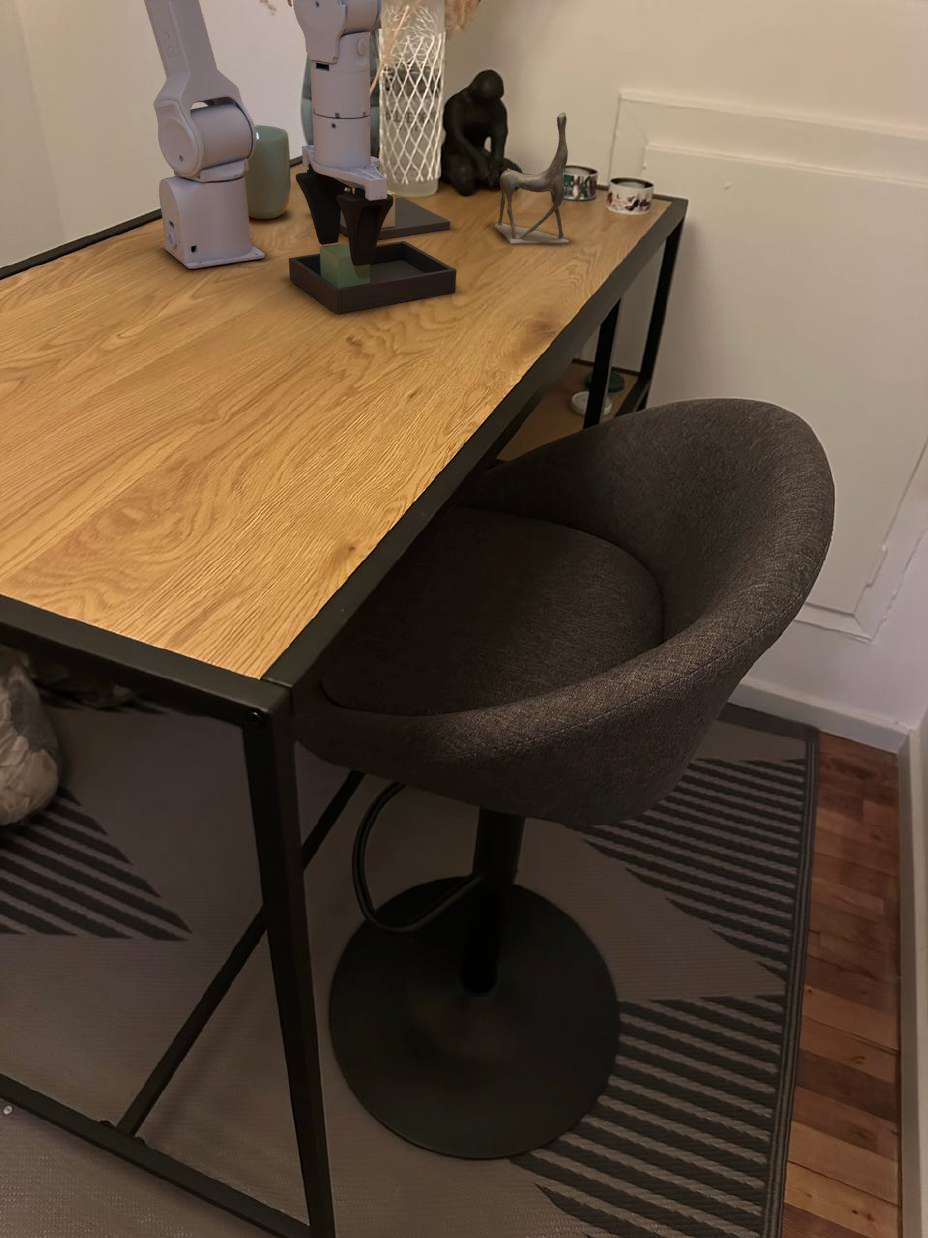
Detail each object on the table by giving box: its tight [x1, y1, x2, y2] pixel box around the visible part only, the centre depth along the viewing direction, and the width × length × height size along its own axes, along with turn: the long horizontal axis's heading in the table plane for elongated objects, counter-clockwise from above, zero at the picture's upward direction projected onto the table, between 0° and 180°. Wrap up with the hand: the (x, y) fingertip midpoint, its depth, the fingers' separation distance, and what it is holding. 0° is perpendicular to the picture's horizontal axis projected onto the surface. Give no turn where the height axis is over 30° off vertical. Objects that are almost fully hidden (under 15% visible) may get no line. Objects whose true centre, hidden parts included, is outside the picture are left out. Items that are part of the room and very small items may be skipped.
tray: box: [288, 240, 458, 315], centre depth 102 cm, size 15×11×2 cm
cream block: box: [352, 188, 396, 228], centre depth 116 cm, size 4×4×4 cm
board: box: [340, 197, 451, 241], centre depth 121 cm, size 14×12×1 cm
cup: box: [244, 124, 292, 220], centre depth 117 cm, size 8×8×10 cm
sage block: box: [319, 242, 370, 288], centre depth 100 cm, size 4×4×4 cm
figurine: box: [493, 112, 569, 245], centre depth 115 cm, size 11×6×15 cm, turn 57°
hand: (345, 253), depth 98 cm, fingers open, 7 cm apart
